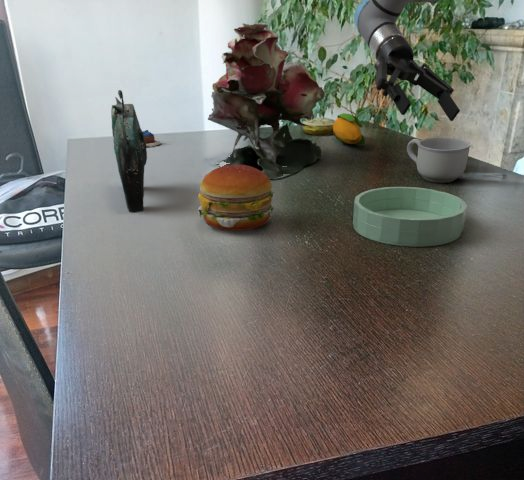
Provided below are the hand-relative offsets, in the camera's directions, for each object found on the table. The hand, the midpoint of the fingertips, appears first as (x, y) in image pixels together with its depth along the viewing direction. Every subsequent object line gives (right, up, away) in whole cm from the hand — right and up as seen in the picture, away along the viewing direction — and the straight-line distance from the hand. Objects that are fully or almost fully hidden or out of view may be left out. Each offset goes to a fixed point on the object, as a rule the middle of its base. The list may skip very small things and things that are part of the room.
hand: (431, 112), depth 121 cm
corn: (-12, +6, +36) cm, 39 cm away
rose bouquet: (-36, -4, +20) cm, 42 cm away
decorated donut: (-19, +15, +50) cm, 56 cm away
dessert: (-69, +7, +39) cm, 79 cm away
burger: (-41, -28, -19) cm, 53 cm away
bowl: (-11, -29, -22) cm, 38 cm away
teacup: (+2, -12, +6) cm, 14 cm away
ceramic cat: (-62, -20, -5) cm, 65 cm away
